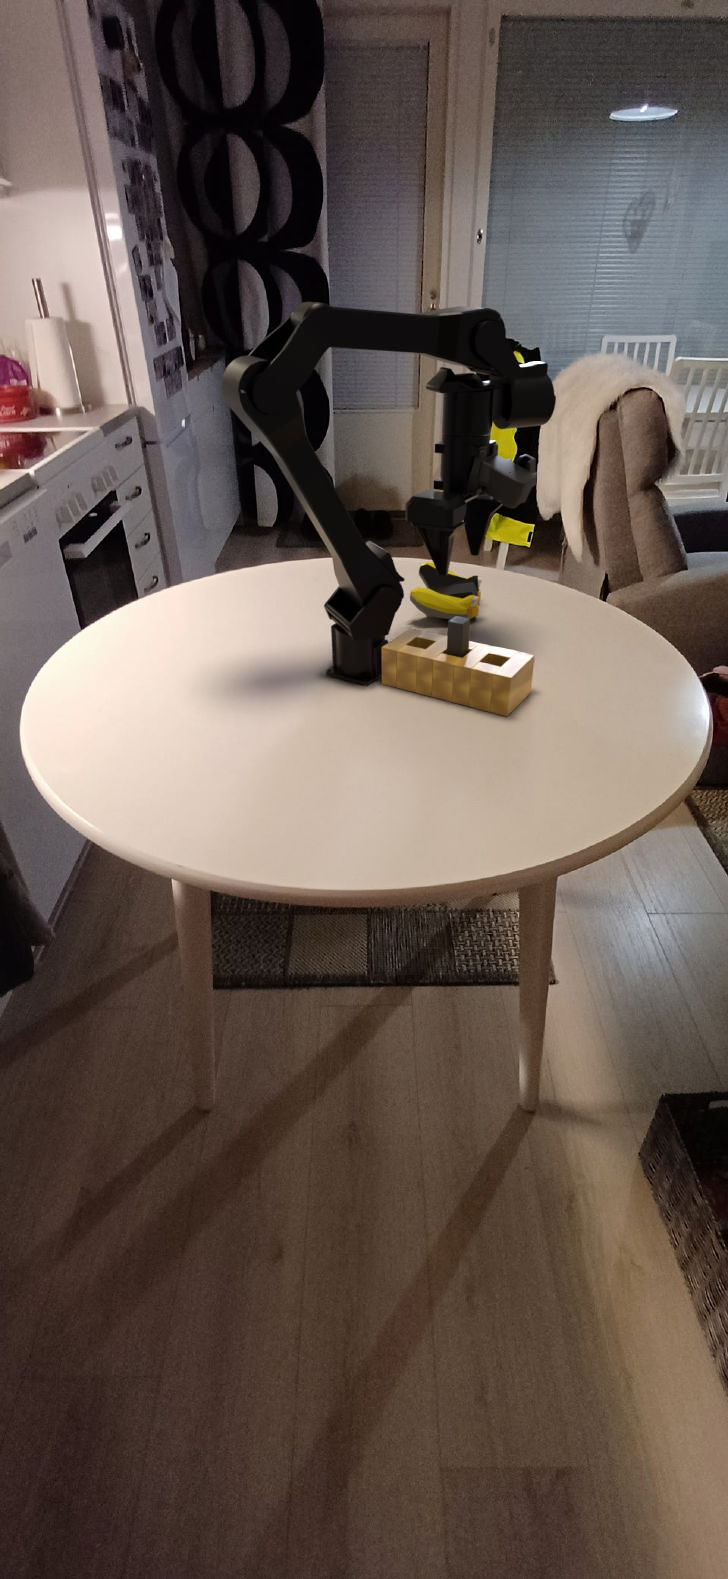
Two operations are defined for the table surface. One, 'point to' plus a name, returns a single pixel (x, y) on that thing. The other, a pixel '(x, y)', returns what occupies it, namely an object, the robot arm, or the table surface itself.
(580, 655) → the table surface
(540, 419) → the robot arm
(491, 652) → the holder
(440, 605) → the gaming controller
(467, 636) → the peg
